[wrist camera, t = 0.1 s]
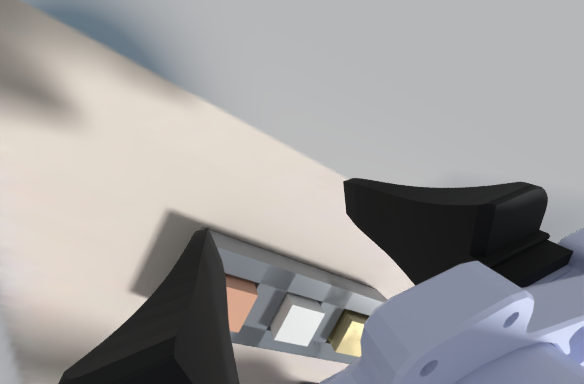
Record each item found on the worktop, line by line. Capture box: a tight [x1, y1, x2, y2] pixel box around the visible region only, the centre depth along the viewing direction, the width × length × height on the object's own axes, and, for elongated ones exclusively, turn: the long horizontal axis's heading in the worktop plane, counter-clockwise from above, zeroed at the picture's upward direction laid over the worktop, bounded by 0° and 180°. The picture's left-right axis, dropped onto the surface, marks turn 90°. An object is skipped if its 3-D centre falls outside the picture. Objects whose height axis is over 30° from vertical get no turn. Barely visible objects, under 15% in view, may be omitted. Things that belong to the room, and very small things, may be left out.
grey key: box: [269, 291, 325, 346], centre depth 23 cm, size 4×4×3 cm
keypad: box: [202, 228, 387, 364], centre depth 25 cm, size 8×22×3 cm, turn 61°
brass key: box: [328, 308, 369, 357], centre depth 26 cm, size 4×4×3 cm
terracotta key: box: [225, 273, 258, 333], centre depth 21 cm, size 4×4×3 cm
